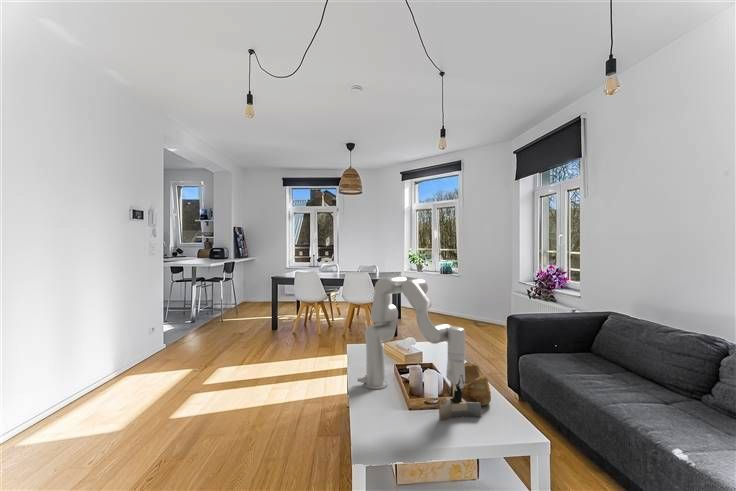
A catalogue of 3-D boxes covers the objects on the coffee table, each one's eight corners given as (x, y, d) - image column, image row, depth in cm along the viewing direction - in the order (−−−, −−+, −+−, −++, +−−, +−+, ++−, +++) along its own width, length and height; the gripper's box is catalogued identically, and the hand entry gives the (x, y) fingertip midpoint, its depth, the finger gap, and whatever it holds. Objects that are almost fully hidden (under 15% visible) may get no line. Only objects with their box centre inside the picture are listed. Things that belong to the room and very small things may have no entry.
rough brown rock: (446, 391, 195) (444, 362, 195) (478, 387, 196) (476, 359, 195) (458, 412, 172) (455, 379, 172) (494, 408, 173) (492, 376, 172)
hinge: (439, 420, 160) (439, 406, 160) (433, 412, 169) (433, 398, 169) (481, 417, 164) (481, 403, 164) (472, 409, 172) (472, 395, 172)
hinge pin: (454, 403, 165) (454, 382, 165) (451, 400, 168) (451, 380, 168) (460, 402, 166) (461, 382, 166) (458, 400, 168) (458, 379, 168)
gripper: (441, 351, 174) (441, 391, 174) (455, 362, 158) (455, 406, 158) (456, 350, 175) (456, 390, 175) (472, 361, 159) (472, 405, 159)
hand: (456, 397), depth 167 cm, fingers closed on hinge pin, 3 cm apart
